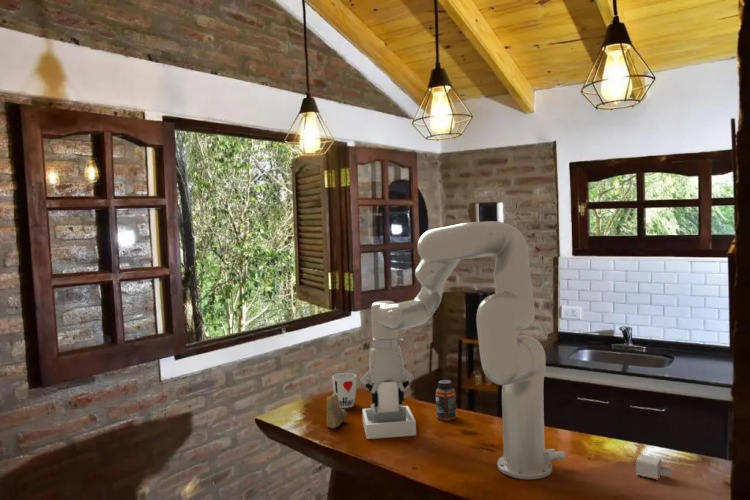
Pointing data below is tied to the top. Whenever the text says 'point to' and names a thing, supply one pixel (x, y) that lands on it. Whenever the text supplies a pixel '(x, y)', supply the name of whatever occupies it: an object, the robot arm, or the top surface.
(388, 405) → the can
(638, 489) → the top surface
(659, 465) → the usb wall charger
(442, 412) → the supplement bottle
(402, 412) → the inlet box
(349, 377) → the cup
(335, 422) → the stone
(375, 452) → the top surface
